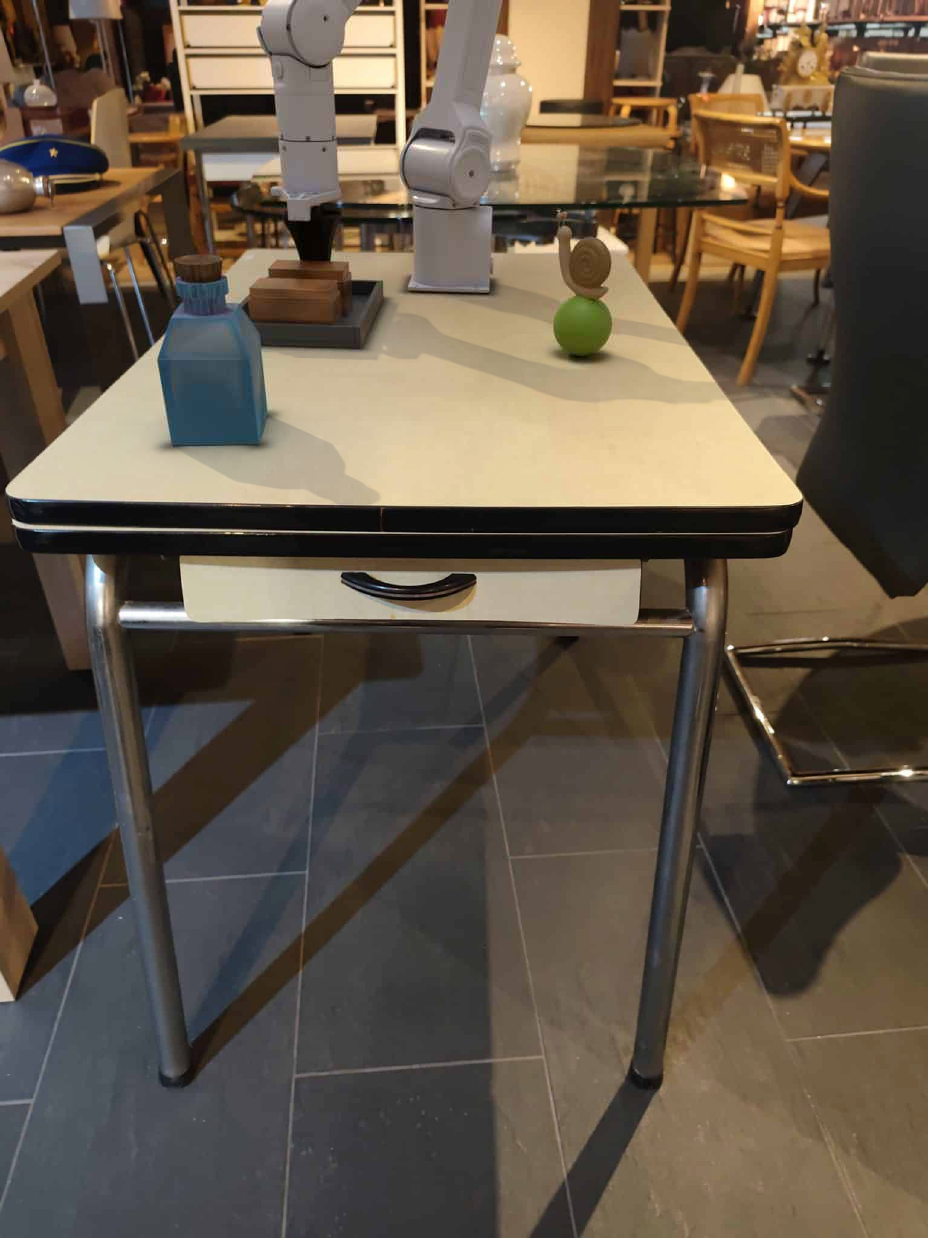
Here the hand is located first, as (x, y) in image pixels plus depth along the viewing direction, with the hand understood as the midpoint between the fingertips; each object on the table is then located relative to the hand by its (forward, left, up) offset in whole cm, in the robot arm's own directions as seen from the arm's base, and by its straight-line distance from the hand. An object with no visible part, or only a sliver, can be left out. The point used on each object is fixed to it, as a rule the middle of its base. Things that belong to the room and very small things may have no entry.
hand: (317, 282), depth 95 cm
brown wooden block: (0, +12, -2) cm, 12 cm away
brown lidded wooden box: (0, +3, -2) cm, 4 cm away
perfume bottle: (+1, +36, -3) cm, 36 cm away
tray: (0, +5, -2) cm, 6 cm away
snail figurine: (-27, +14, -3) cm, 31 cm away
